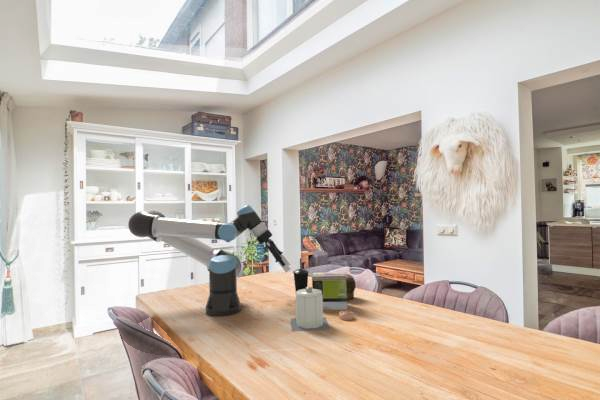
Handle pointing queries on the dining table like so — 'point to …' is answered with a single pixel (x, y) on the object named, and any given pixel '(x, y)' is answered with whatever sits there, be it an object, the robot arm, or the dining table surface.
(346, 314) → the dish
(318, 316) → the ribbed plastic canister
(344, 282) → the tea box
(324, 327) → the plate
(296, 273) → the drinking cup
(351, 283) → the shell
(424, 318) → the dining table surface
